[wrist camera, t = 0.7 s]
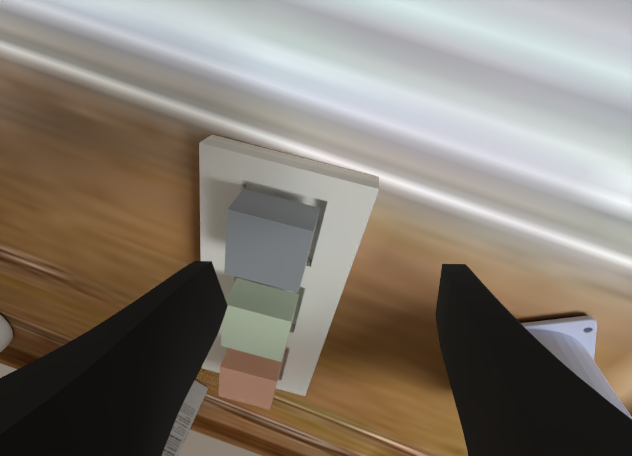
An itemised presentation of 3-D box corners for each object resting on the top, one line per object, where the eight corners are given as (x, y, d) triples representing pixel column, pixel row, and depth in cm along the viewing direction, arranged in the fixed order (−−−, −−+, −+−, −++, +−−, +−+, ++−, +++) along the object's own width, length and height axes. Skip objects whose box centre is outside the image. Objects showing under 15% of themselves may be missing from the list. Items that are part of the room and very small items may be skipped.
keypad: (307, 379, 30) (304, 396, 29) (209, 353, 30) (201, 368, 29) (378, 177, 18) (379, 189, 16) (212, 134, 18) (199, 142, 17)
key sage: (289, 333, 23) (281, 362, 21) (233, 318, 24) (221, 345, 22) (299, 294, 21) (291, 322, 19) (237, 277, 21) (222, 303, 19)
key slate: (305, 266, 20) (298, 293, 18) (239, 248, 20) (224, 273, 18) (320, 207, 17) (313, 231, 15) (244, 188, 17) (227, 208, 15)
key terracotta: (277, 382, 27) (269, 409, 25) (229, 369, 27) (218, 395, 25) (284, 353, 25) (276, 381, 23) (232, 339, 25) (219, 366, 23)
